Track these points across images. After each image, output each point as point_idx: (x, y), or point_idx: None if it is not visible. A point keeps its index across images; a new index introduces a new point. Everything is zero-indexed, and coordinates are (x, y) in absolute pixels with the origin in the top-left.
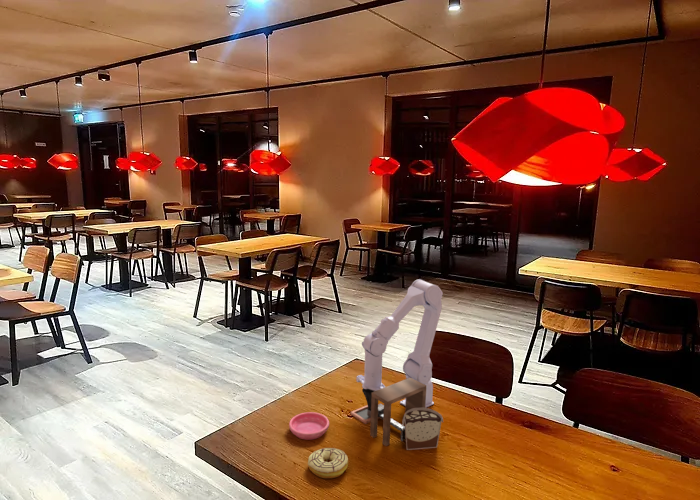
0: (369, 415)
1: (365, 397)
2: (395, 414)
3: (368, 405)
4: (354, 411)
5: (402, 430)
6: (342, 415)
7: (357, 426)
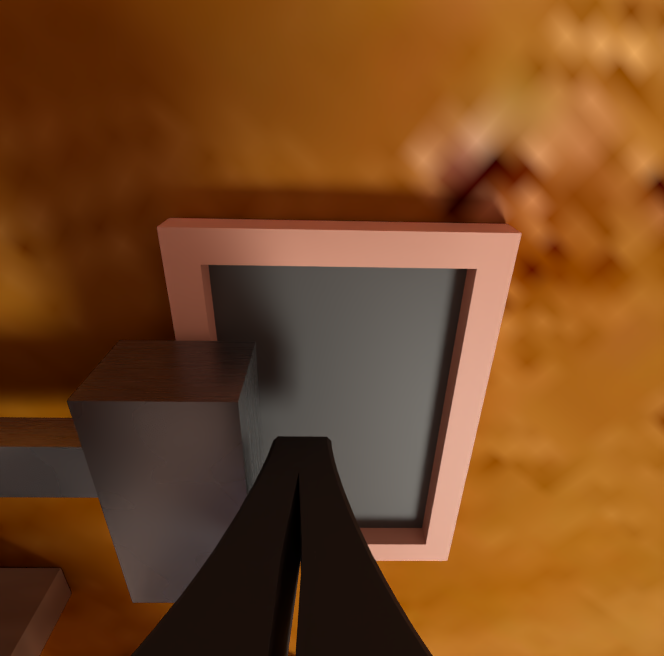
0: (198, 351)
1: (389, 597)
2: None
3: (311, 477)
4: (483, 285)
5: None
6: (585, 91)
7: (175, 64)
